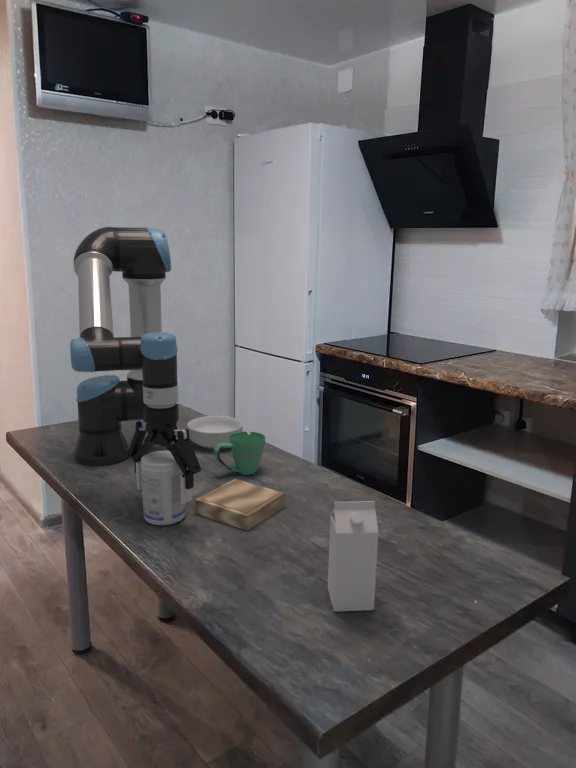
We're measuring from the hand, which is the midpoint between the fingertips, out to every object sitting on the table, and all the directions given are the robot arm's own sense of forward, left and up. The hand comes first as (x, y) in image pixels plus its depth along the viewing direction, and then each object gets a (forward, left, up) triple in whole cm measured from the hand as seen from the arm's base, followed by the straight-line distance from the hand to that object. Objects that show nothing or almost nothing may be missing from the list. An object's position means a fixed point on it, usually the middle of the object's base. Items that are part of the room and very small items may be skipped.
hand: (164, 494), depth 136 cm
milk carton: (+50, -5, -6) cm, 50 cm away
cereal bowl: (-22, +45, -6) cm, 51 cm away
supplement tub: (0, 0, -6) cm, 6 cm away
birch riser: (+12, +13, -6) cm, 19 cm away
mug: (-2, +31, -6) cm, 32 cm away
